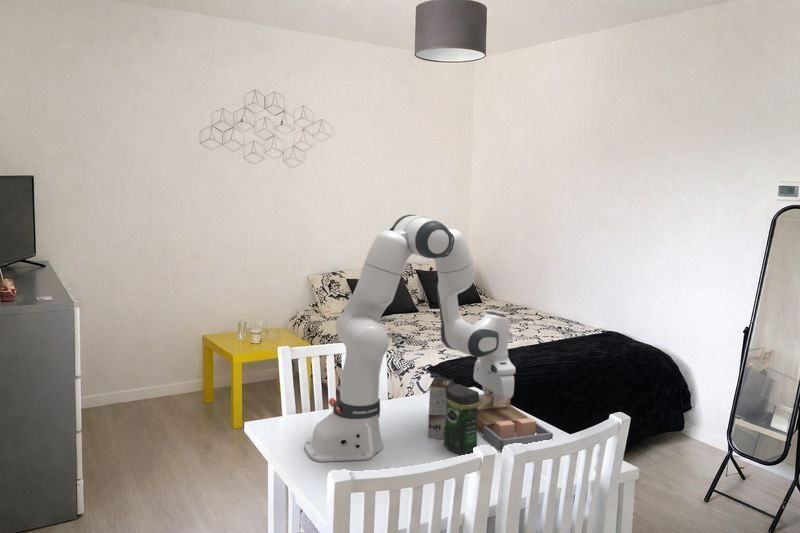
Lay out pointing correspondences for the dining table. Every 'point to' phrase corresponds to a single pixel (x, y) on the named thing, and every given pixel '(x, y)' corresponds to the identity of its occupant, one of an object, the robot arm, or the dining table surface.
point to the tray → (516, 437)
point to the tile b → (525, 427)
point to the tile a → (505, 429)
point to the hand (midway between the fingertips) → (491, 402)
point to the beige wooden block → (486, 401)
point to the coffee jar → (461, 419)
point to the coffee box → (438, 407)
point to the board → (497, 417)
